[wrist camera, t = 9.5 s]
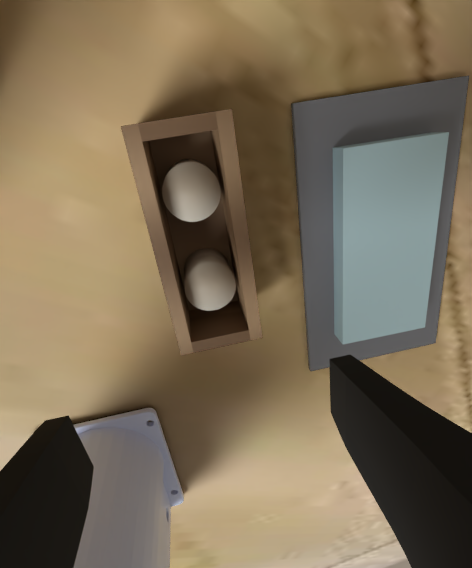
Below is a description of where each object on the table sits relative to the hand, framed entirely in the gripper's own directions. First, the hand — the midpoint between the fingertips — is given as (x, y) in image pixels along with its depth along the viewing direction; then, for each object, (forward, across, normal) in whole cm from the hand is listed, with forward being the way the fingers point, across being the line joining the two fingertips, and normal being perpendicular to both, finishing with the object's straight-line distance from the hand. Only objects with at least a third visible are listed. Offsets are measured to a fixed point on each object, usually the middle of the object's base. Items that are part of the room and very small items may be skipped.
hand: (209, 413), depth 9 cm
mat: (+10, -11, 0) cm, 15 cm away
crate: (+10, -1, -2) cm, 11 cm away
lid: (+10, -11, 0) cm, 15 cm away
